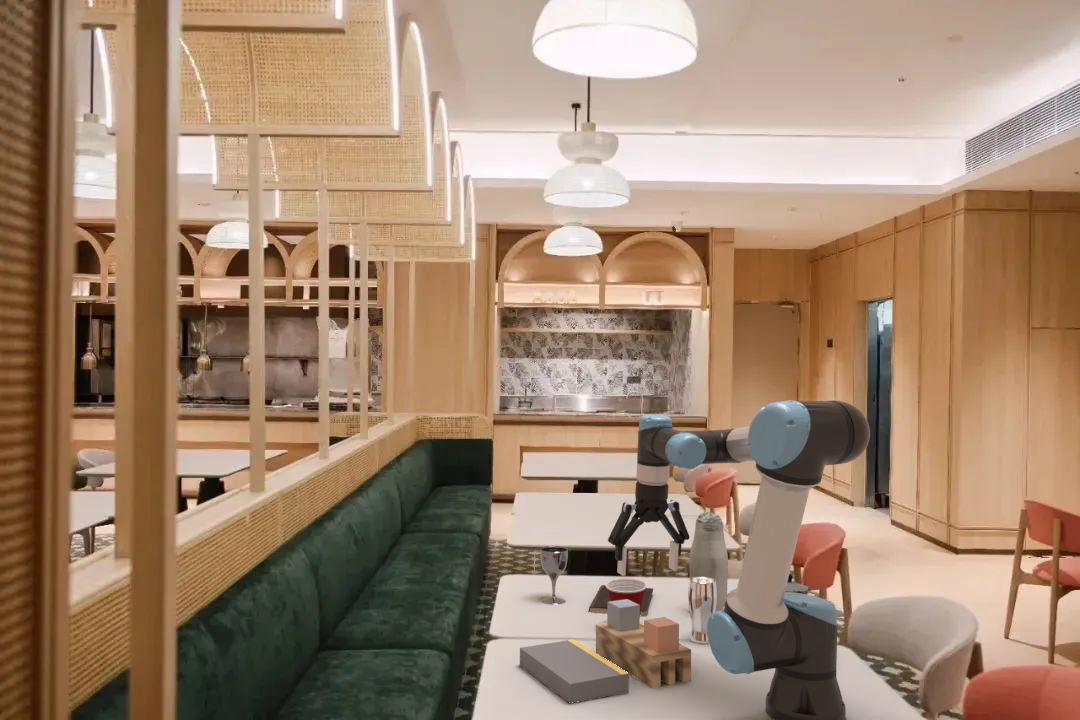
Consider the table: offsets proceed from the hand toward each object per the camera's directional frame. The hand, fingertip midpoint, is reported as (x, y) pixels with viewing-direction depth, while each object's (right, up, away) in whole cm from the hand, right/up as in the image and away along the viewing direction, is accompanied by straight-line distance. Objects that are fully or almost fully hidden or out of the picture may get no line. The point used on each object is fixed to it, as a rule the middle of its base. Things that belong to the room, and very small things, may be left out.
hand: (647, 571), depth 199 cm
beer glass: (+16, -21, +15) cm, 30 cm away
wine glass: (-21, -20, +48) cm, 56 cm away
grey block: (-5, -14, +3) cm, 15 cm away
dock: (-18, -20, -12) cm, 30 cm away
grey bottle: (+21, -21, +37) cm, 47 cm away
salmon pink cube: (+2, -14, -11) cm, 18 cm away
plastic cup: (-3, -21, +22) cm, 31 cm away
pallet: (-2, -21, -4) cm, 21 cm away
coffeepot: (+36, -21, +8) cm, 42 cm away
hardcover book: (-1, -21, +46) cm, 51 cm away
